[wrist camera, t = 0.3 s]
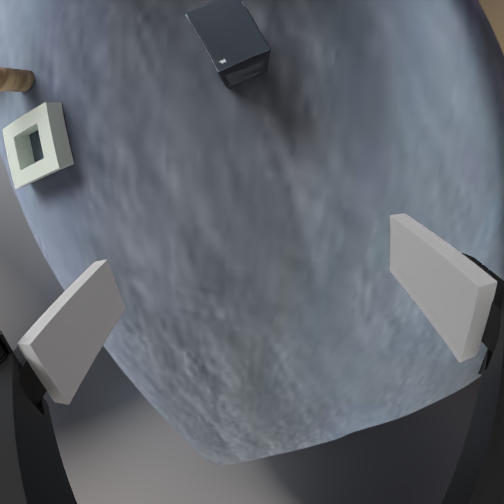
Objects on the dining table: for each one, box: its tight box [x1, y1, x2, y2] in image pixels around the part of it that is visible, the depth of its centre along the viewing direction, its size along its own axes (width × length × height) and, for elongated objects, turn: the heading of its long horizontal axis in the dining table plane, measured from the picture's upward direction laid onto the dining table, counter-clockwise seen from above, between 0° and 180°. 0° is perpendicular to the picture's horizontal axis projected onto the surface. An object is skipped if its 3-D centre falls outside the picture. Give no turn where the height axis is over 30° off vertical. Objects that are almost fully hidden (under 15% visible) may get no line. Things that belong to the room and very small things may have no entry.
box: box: [185, 0, 270, 88], centre depth 28 cm, size 8×6×11 cm
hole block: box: [3, 102, 74, 189], centre depth 35 cm, size 10×10×4 cm
